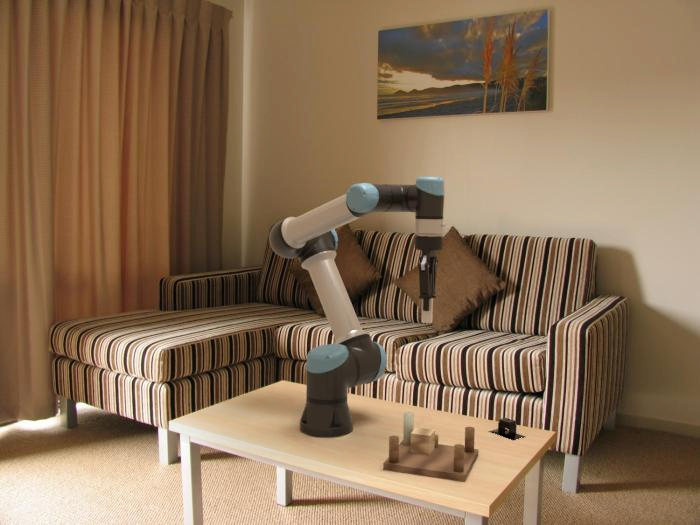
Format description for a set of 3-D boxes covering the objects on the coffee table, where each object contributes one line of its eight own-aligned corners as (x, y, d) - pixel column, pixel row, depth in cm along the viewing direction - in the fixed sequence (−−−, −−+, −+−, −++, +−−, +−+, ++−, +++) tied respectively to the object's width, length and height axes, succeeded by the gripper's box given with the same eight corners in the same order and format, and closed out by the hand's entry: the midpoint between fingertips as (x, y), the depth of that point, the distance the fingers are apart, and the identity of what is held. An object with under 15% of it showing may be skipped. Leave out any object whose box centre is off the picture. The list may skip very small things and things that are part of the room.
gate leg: (402, 444, 185) (402, 414, 185) (404, 441, 188) (404, 411, 187) (427, 447, 184) (427, 416, 183) (428, 443, 186) (429, 413, 186)
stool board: (383, 469, 173) (383, 439, 172) (403, 445, 190) (403, 417, 189) (465, 481, 166) (466, 450, 165) (478, 455, 183) (479, 426, 182)
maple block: (410, 452, 180) (410, 433, 180) (415, 446, 185) (416, 427, 184) (429, 455, 178) (430, 435, 178) (434, 448, 183) (434, 429, 183)
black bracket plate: (532, 439, 197) (533, 423, 197) (515, 444, 193) (516, 428, 193) (498, 427, 207) (498, 412, 207) (481, 432, 203) (481, 416, 203)
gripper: (437, 236, 182) (435, 327, 185) (447, 234, 195) (445, 319, 197) (408, 235, 185) (407, 325, 187) (421, 233, 197) (419, 317, 199)
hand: (426, 322), depth 192 cm, fingers closed
